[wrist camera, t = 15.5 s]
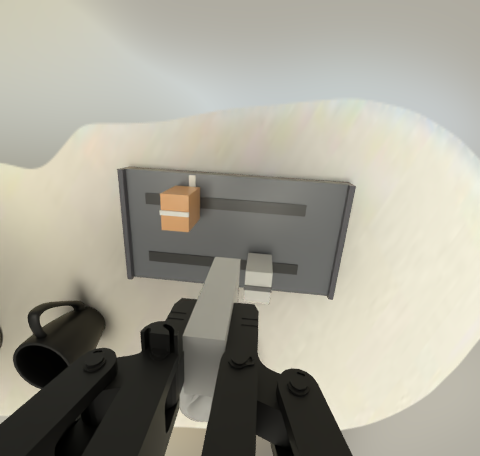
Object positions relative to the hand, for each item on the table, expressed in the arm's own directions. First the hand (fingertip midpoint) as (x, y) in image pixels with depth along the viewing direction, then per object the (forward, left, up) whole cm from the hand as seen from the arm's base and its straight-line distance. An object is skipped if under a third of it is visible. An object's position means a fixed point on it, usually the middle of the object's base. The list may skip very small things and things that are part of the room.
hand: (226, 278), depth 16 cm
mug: (-25, -20, -20) cm, 38 cm away
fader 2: (+2, -8, -17) cm, 19 cm away
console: (-2, -4, -20) cm, 20 cm away
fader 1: (-7, 0, -17) cm, 19 cm away
